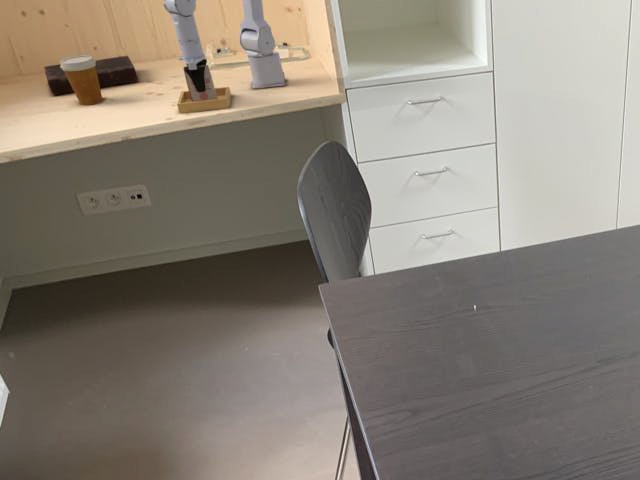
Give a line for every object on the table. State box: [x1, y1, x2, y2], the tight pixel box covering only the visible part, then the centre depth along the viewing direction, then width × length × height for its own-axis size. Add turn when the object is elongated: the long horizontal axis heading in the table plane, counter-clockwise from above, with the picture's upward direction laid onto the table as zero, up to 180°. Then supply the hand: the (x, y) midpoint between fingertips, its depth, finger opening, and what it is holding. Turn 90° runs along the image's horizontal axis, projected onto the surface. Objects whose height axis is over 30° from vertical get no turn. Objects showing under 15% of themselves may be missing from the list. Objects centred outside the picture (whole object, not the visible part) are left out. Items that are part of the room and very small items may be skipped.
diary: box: [43, 55, 139, 96], centre depth 249 cm, size 19×25×5 cm
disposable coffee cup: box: [60, 54, 103, 106], centre depth 230 cm, size 10×10×12 cm
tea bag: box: [182, 64, 217, 102], centre depth 224 cm, size 4×7×10 cm, turn 106°
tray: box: [176, 86, 232, 114], centre depth 227 cm, size 14×13×2 cm
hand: (202, 89), depth 225 cm, fingers closed on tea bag, 4 cm apart
